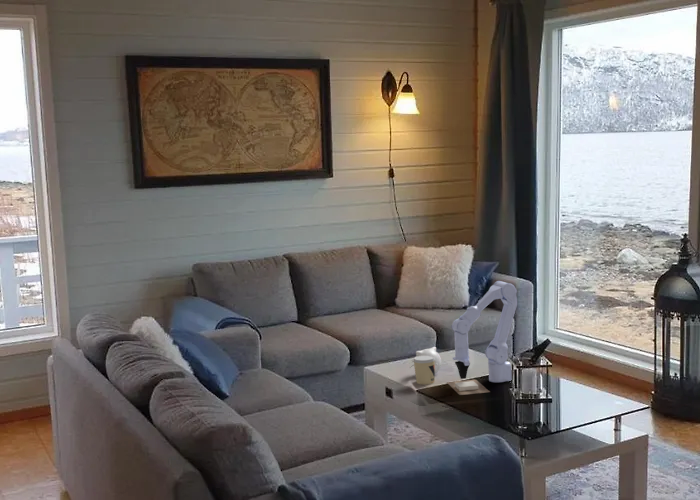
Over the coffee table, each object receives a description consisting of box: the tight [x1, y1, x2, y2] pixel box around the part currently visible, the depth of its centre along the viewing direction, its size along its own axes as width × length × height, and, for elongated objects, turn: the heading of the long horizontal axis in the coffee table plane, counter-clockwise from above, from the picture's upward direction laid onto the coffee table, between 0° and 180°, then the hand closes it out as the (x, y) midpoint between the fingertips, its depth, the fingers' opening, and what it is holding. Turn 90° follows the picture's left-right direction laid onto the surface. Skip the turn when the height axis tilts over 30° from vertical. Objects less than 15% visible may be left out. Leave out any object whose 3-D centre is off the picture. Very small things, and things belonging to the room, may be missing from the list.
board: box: [446, 379, 491, 396], centre depth 335 cm, size 13×20×1 cm, turn 8°
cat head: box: [409, 346, 442, 375], centre depth 360 cm, size 15×13×12 cm
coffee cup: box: [412, 355, 436, 386], centre depth 346 cm, size 9×9×12 cm
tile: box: [455, 381, 478, 391], centre depth 333 cm, size 8×2×7 cm
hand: (463, 378), depth 338 cm, fingers closed
